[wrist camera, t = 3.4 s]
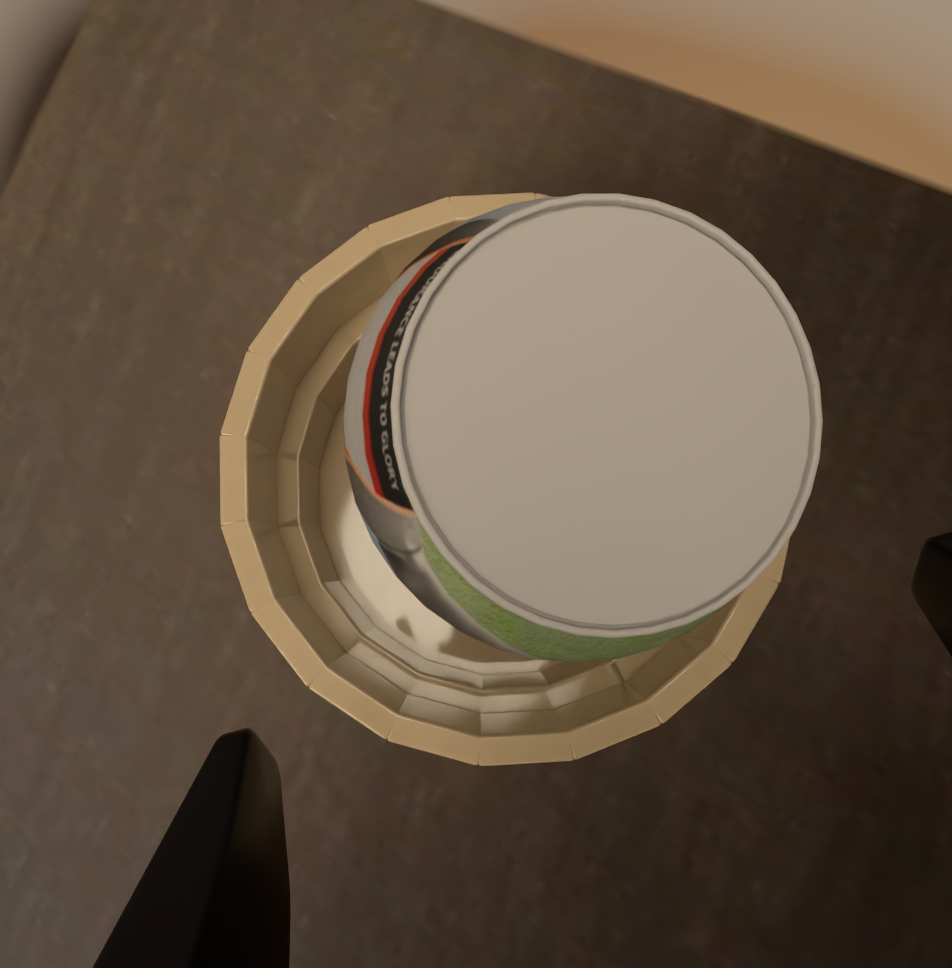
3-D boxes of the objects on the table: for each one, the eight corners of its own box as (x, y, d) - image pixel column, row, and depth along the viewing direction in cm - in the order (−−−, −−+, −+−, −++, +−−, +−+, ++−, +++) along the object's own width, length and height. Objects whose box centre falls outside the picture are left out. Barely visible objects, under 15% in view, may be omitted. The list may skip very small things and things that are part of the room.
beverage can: (418, 338, 20) (338, -14, 8) (663, 432, 19) (970, 215, 8) (332, 546, 19) (97, 508, 7) (585, 646, 19) (786, 784, 7)
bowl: (803, 522, 20) (916, 506, 15) (467, 809, 19) (465, 896, 14) (527, 204, 21) (545, 89, 16) (196, 459, 20) (104, 422, 15)
